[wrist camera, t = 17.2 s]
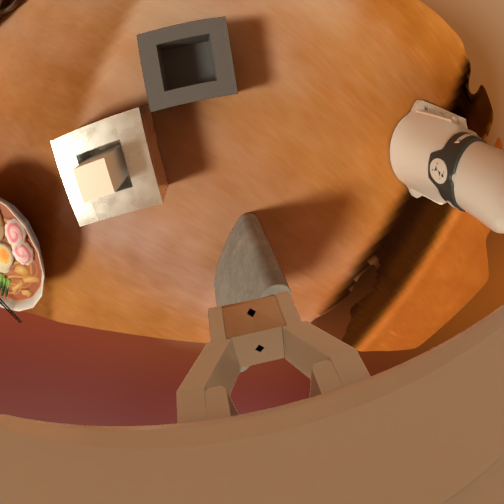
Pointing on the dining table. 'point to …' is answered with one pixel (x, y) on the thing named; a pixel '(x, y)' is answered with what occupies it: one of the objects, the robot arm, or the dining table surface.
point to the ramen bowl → (19, 261)
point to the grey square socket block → (187, 63)
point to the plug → (101, 173)
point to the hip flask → (247, 266)
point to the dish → (1, 7)
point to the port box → (136, 156)
